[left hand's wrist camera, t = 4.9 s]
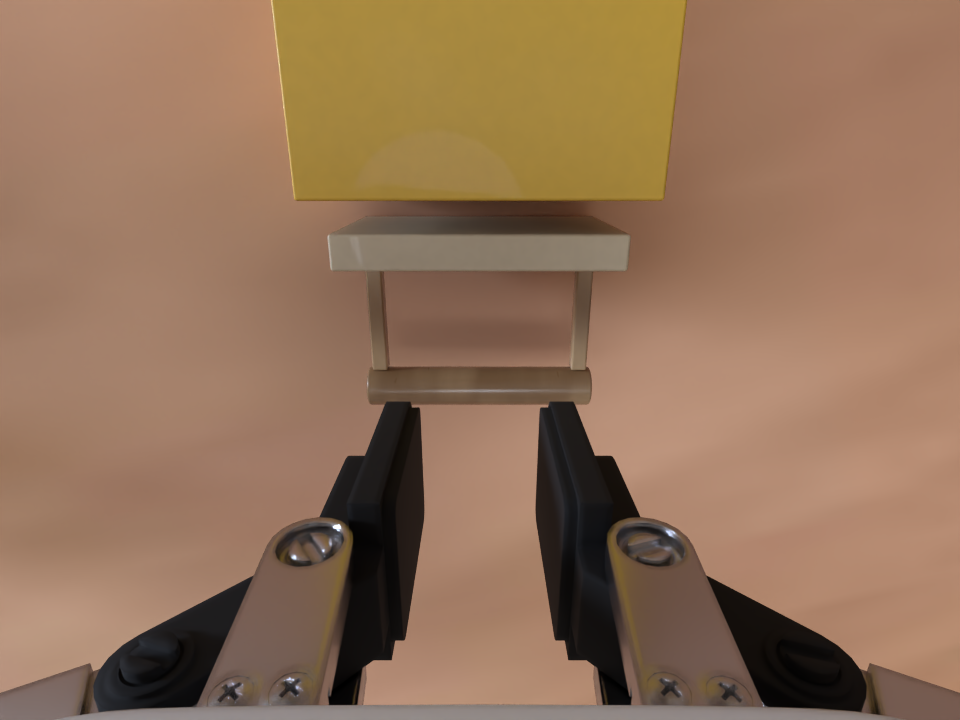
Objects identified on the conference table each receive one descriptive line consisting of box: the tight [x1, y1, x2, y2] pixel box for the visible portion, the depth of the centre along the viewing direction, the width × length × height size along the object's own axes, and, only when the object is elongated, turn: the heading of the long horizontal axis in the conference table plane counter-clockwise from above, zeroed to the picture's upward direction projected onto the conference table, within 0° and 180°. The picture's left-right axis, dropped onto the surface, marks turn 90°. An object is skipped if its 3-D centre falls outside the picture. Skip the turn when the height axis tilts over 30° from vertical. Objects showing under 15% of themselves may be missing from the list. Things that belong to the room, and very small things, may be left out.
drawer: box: [328, 216, 631, 405], centre depth 18 cm, size 23×10×6 cm, turn 0°
